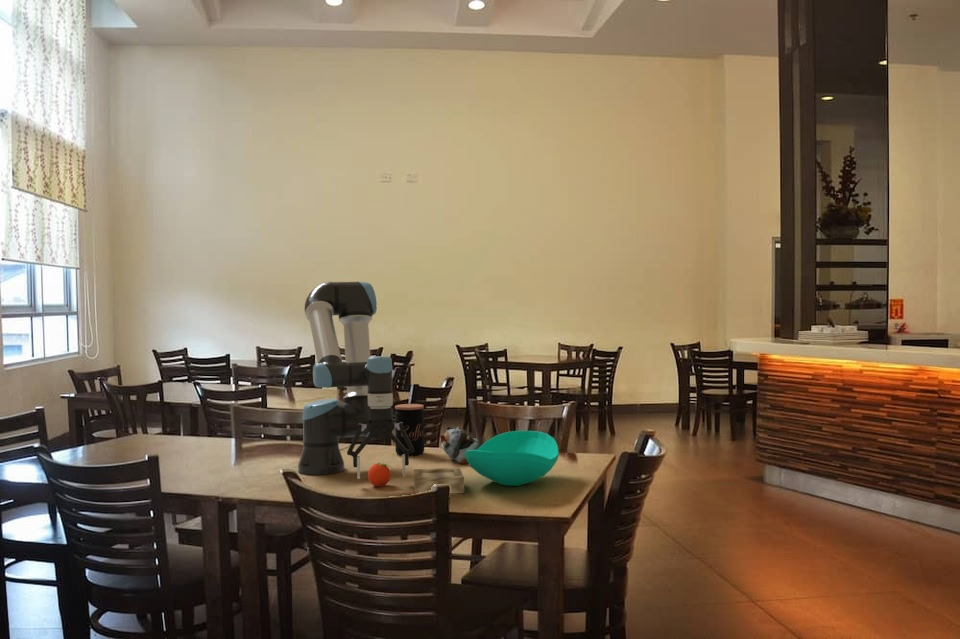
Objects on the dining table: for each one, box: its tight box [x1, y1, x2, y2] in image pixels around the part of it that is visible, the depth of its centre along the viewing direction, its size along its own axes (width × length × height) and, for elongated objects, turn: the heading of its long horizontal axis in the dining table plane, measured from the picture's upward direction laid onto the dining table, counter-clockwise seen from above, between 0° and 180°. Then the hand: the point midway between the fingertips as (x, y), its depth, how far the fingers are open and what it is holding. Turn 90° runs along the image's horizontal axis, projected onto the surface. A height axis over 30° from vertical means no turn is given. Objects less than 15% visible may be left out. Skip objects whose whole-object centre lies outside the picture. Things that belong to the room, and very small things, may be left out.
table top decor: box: [465, 430, 560, 487], centre depth 242 cm, size 40×28×13 cm
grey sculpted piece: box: [439, 426, 483, 465], centre depth 279 cm, size 15×12×14 cm
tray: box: [413, 467, 465, 494], centre depth 235 cm, size 14×14×5 cm
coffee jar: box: [394, 403, 425, 457], centre depth 293 cm, size 11×11×18 cm
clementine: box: [367, 462, 393, 487], centre depth 240 cm, size 8×7×7 cm
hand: (381, 477), depth 240 cm, fingers open, 13 cm apart
